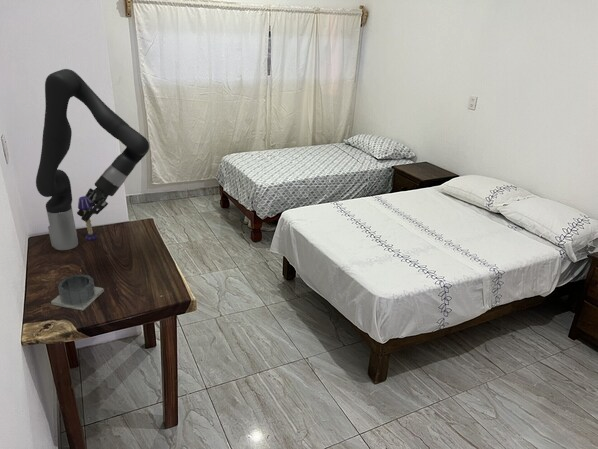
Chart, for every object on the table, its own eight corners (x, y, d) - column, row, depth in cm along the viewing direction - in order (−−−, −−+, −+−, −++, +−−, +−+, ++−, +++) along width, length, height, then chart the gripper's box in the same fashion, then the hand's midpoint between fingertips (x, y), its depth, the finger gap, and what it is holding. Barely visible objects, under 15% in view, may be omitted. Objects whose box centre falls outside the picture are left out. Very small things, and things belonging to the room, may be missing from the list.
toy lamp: (82, 241, 158) (75, 200, 151) (84, 235, 162) (77, 195, 155) (96, 240, 160) (90, 199, 152) (98, 235, 164) (92, 194, 156)
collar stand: (51, 304, 148) (48, 289, 146) (74, 285, 159) (71, 271, 156) (83, 310, 146) (80, 295, 144) (104, 290, 157) (101, 276, 154)
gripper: (96, 169, 160) (66, 205, 158) (110, 181, 150) (78, 220, 148) (112, 180, 165) (83, 215, 163) (126, 192, 156) (96, 230, 154)
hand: (81, 217), depth 156 cm, fingers closed on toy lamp, 4 cm apart
